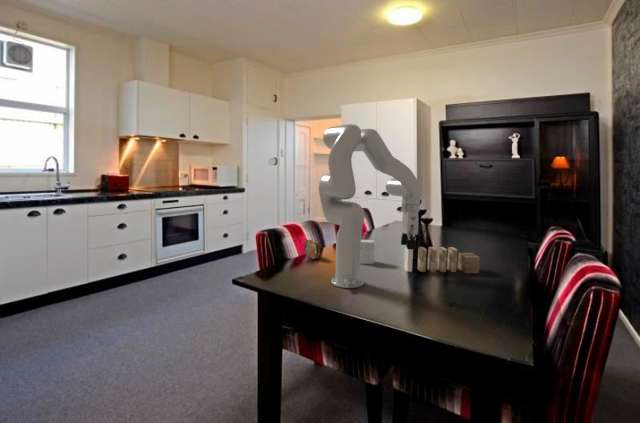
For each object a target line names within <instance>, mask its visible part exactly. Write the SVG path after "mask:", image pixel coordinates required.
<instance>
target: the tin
mask: <svg viewBox="0 0 640 423" xmlns="http://www.w3.org/2000/svg"><path fill="white" fill-rule="evenodd" d="M303 246H304V248H303V249H304V254H305V255H307V256H306V257H308V256H309V257H308V258H310V257H311V258H310V259H312V260H317V259H319V258H320V257H321V249H322V248H321V244H320V243H319V242H318V241H315V240H313V239H306V240H305V242H304V245H303Z"/></svg>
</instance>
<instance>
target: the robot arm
mask: <svg viewBox="0 0 640 423" xmlns="http://www.w3.org/2000/svg"><path fill="white" fill-rule="evenodd" d="M322 140H323V143H324V145H325V147H327V148H328V149H330V151H329V154H328V159H327V164H328V171H329V173H327V174H325V175H323V176H322V177H321V178H320V180H319V184H318V194H319V199H320V204H321V208H322V212H323V216H324V219H325V220H326V221H327V222H328V223H330V224H332V225H338V226H339V229H338V230H337V233H336V237H335V274H334V275H335V276H334V277H332V278H331V281H330V282H331V284H332V286H335V287H338V288H344V289H355V288H359V287H362V286H364V283H365V281H364V279H362V278H361V264H360V259H361V240H362V230H363V226H364V225H363V224H364V222H365V211H364V208H363V207H362V206H361V205H360V203H356V202H353V201H347V200H351V199H353V197H355V194H356V193H357V192H356V189H357V188H356V181H355V175H354V170H353V163H352V159H353V158H352V157H353V153H354V152H363V153H364V154H365V156H366V158H367V159H368V160H369V162H370V164H371V165H372V166H373V168H374V169H375V170H377V171H378V172H380V173H383V174H385V175H388V176H390V177H392V178H391V179H389V180H388V181H387V182H386V184H385V191H386V192H387V194H389V195H391V196H395V197H401V211H402V218H401V238H400V245H401V246H406V247H407V249H413V250H415V249H416V248H415V247H416V236H417V235H418V234H419V213H420V203H421V191H422V181H421V180H420V179H417V178H416V176H415V174H414V172H413V170H411V168H409V166H407V165H406V164H405V163H403V162H402V161H400V160H399V159H397V158H396V157H394V156H393V154H392V152H391V151H390V149H389V148H388V146H387V145H386V143H385V142H384V140H383V138H382V137H381V134H379V132H378V131H377V130H376V129H373V128H363V129H361V128H360V127H359V126H358V125H356V124H352V123H351V124H349V123H348V124H342V125H334V126H330V127H328V128H327V129H326V130H325V131H324V132H323V135H322Z"/></svg>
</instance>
